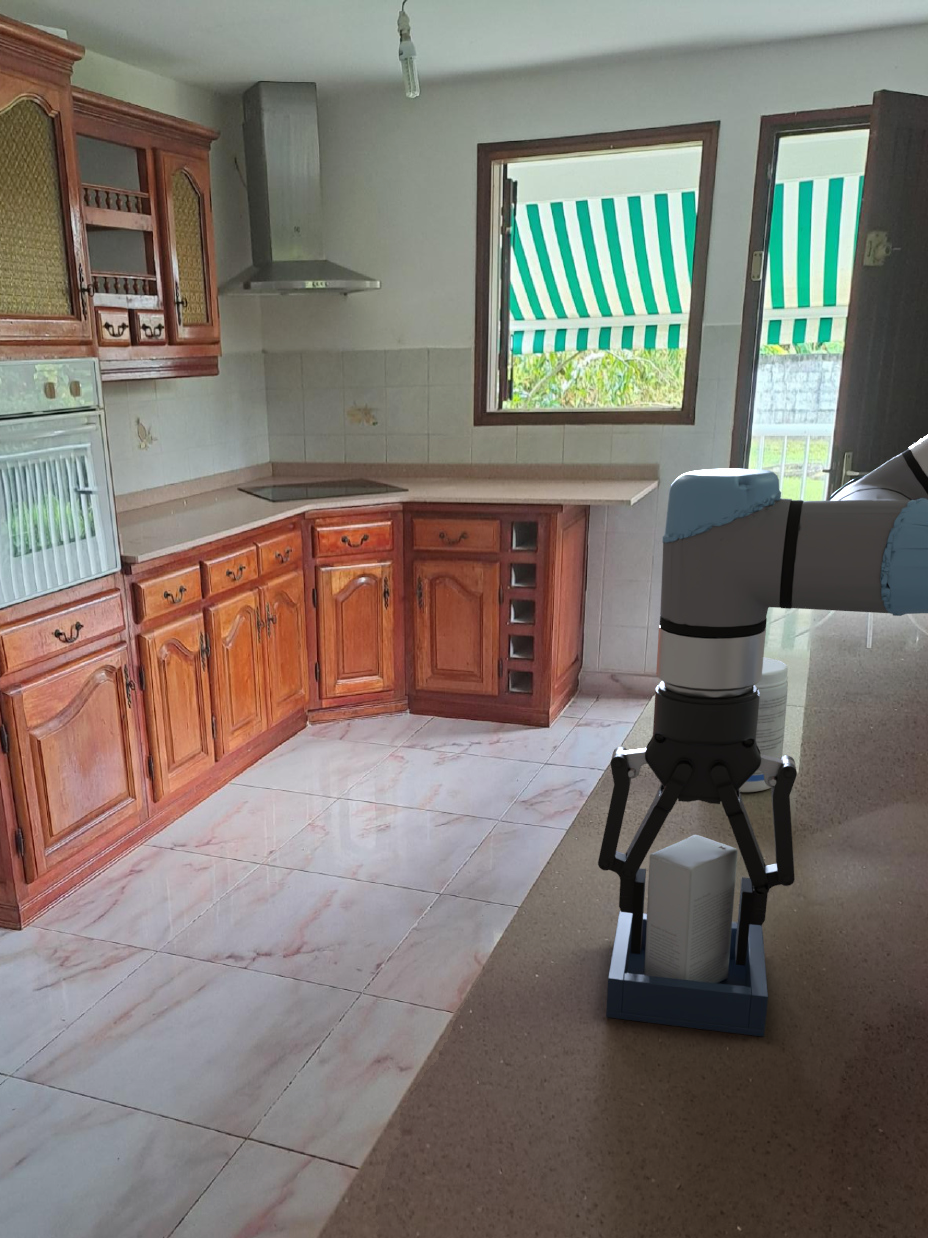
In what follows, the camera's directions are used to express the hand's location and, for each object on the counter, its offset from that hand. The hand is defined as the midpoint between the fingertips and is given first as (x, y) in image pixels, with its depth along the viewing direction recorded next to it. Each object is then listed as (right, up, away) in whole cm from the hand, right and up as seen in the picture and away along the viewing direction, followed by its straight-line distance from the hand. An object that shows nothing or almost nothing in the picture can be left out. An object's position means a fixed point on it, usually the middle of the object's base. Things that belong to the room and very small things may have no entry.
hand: (687, 950), depth 92 cm
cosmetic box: (0, -3, +1) cm, 3 cm away
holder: (0, -3, +1) cm, 4 cm away
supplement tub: (+20, +14, +45) cm, 51 cm away
